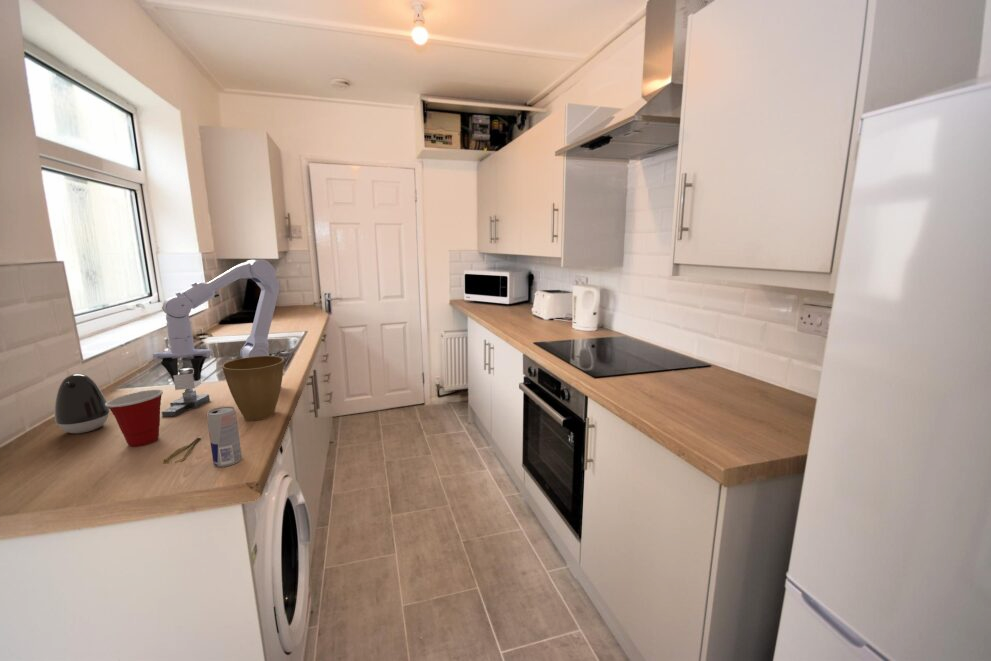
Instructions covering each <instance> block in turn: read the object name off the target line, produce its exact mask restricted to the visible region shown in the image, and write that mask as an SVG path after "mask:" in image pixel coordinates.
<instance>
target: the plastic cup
mask: <svg viewBox="0 0 991 661" xmlns="http://www.w3.org/2000/svg"><path fill="white" fill-rule="evenodd" d="M163 393H164V392H163V390H162V389H149V390H147V389H146V390H143V391H136V392H132V393H128V394H124V395H121V396H118V397H115V398H112V399H110V400H108V401H107V402H106V403H105V406H106V407H108V408H109V410H110V412H111V413H112V415H113V416H114V418H115V421H116V422H117V425H118V427H119V429H120V431H121V433H122V435H123V437H124V439H125V442H126V444H127V445H128V446H129V447H132V448H134V447H135V448H136V447H142V446H147V445H150V444H153V443H155V442H156V441H157V440H159V437H160V426H161V424H160V423H161V405H162V404H161V403H162V402H161V401H162V395H163Z"/></svg>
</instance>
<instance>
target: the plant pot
mask: <svg viewBox="0 0 991 661" xmlns="http://www.w3.org/2000/svg"><path fill="white" fill-rule="evenodd" d="M284 363H285V359H284V357H282V356H276V355H275V356H274V355H269V356H256V357H247V358H242V357H240V358H236V359H233V360H228V361H227V362H225V363H223V364H222V365H221V366H222V371H223V375H224V378H225V380H226V383H227V386H228V390H229V392H230V394H231V396H232V398H233V401H234V402H235V404H236V407H237V408H238V410H239V412H240V414H241V415H242V417H243V418H244V420H246V421H251V422H252V421H253V422H254V421H262V420H266V419H268V418H270V417H272V416H273V415H274V414H275V411H276V407H277V404H278V402H279V401H278V400H279V398H280V392H281V387H282V383H283V382H282V381H283V375H284V374H283V373H284Z"/></svg>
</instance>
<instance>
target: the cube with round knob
mask: <svg viewBox="0 0 991 661" xmlns="http://www.w3.org/2000/svg"><path fill="white" fill-rule="evenodd" d="M179 369H180V368H179ZM179 369H178V373H177V374H175V375H173V377H174V382H173V384H174V390H175V391H179V390H186V389H193V390H194V389H196V388H197V387H199V386H201V385H202V380H201V379H200V380H199V381H195V377H194V369H193V368H184V369H180V370H179Z"/></svg>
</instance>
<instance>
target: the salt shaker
mask: <svg viewBox="0 0 991 661" xmlns="http://www.w3.org/2000/svg"><path fill="white" fill-rule="evenodd" d="M187 356H188V355H187ZM193 358H194V357H188V358H181V360H182V367H180V368H178V371H179V370H180V369H184V368H193V366H192V363H191V359H193Z"/></svg>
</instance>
